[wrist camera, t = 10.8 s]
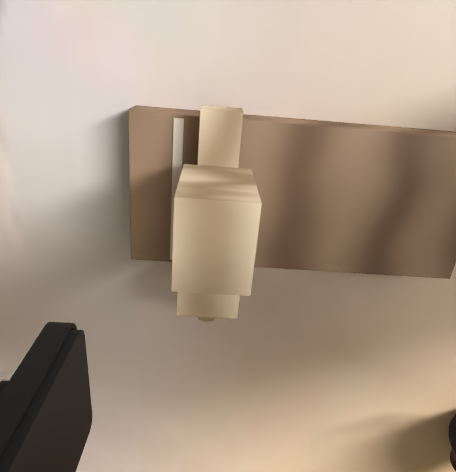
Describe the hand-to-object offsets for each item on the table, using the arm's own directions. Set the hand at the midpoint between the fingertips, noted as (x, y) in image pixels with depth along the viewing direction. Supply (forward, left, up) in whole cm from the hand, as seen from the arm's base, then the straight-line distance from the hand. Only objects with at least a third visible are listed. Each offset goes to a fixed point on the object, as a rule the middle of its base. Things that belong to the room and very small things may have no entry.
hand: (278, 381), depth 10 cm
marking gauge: (+1, +3, -20) cm, 20 cm away
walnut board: (-5, +2, -21) cm, 21 cm away
